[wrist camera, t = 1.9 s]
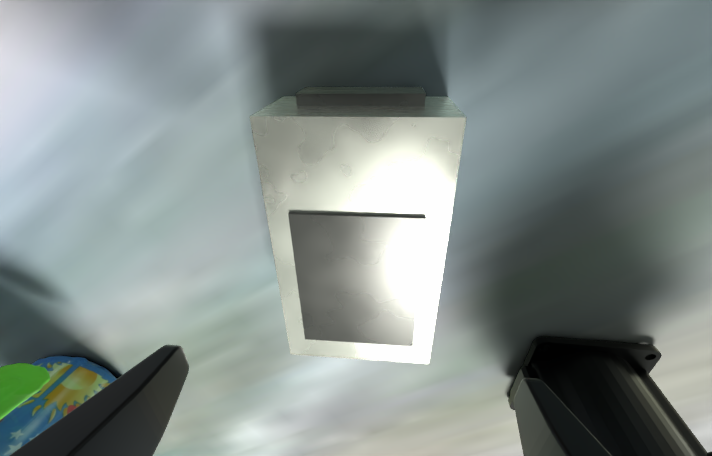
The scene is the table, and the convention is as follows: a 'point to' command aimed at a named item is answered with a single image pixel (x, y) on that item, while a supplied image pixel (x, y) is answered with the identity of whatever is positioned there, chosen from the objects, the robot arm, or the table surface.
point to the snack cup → (44, 395)
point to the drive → (359, 215)
